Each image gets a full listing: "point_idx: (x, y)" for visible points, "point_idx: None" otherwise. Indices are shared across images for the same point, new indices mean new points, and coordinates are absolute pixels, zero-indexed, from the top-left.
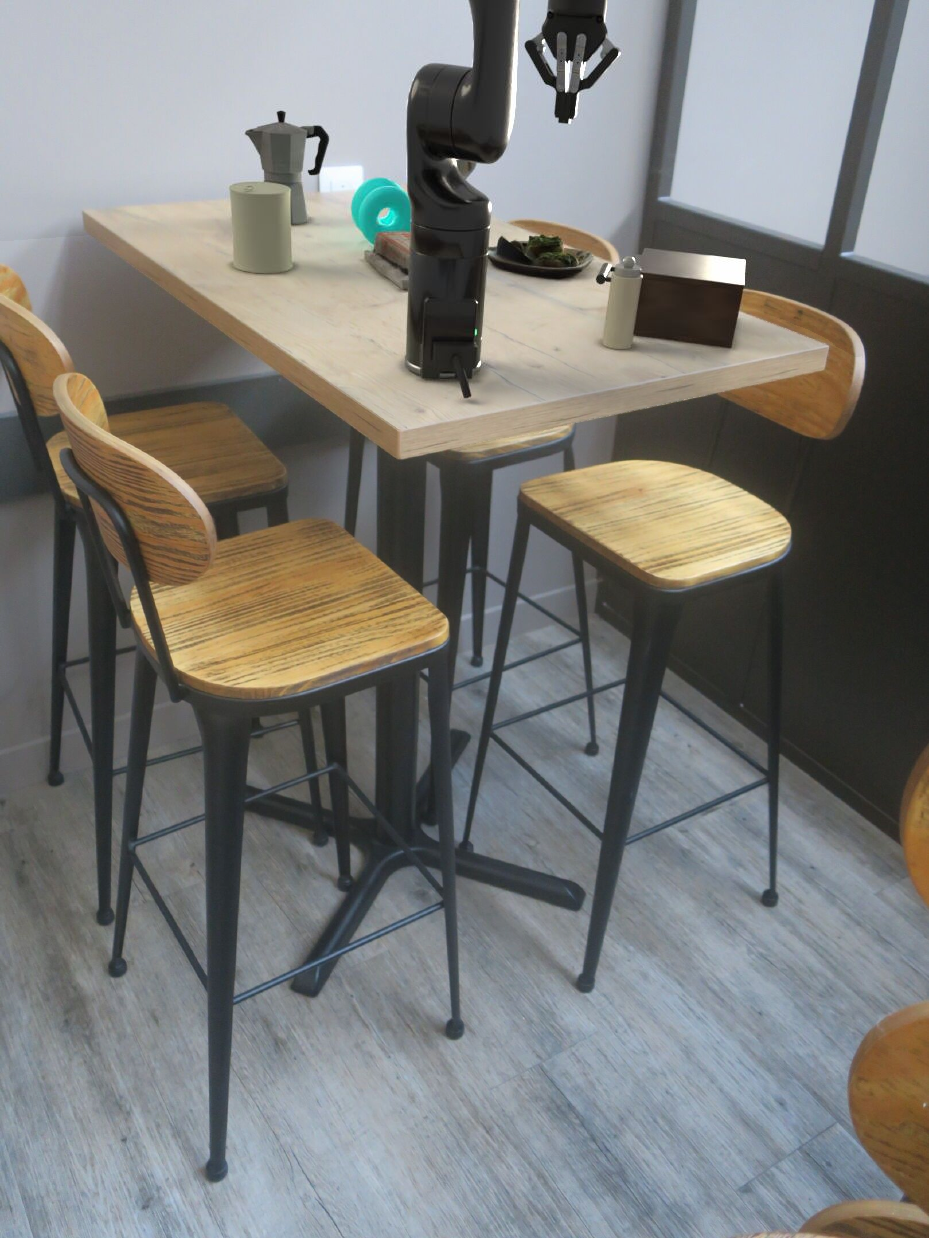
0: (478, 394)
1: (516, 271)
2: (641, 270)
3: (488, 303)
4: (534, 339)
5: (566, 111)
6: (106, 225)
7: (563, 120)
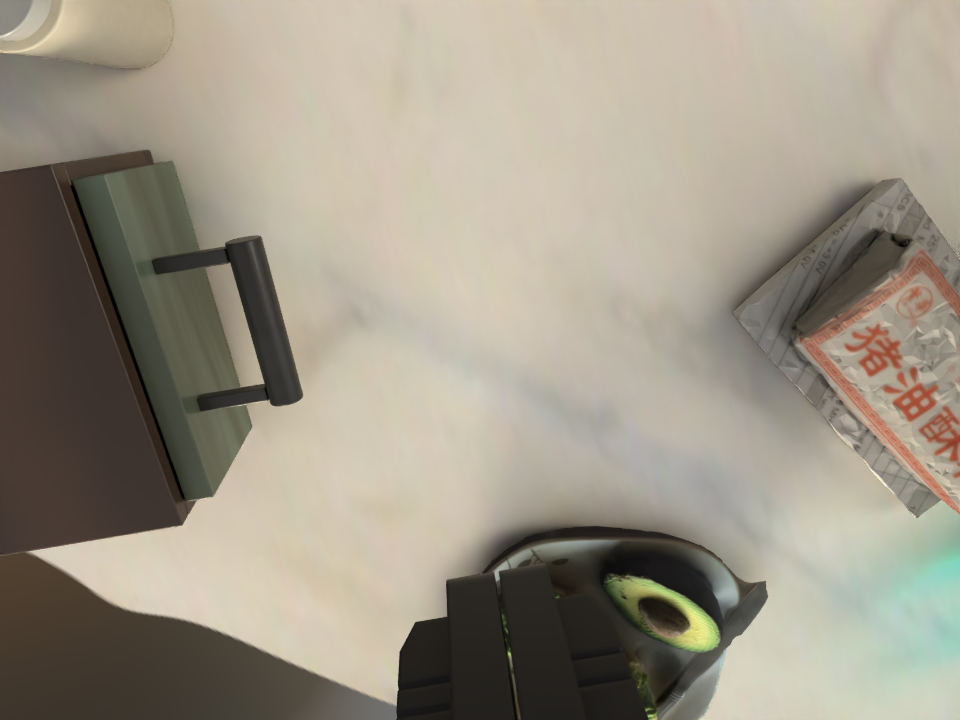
0: None
1: (627, 530)
2: (38, 196)
3: (613, 212)
4: None
5: (486, 640)
6: None
7: (500, 581)
